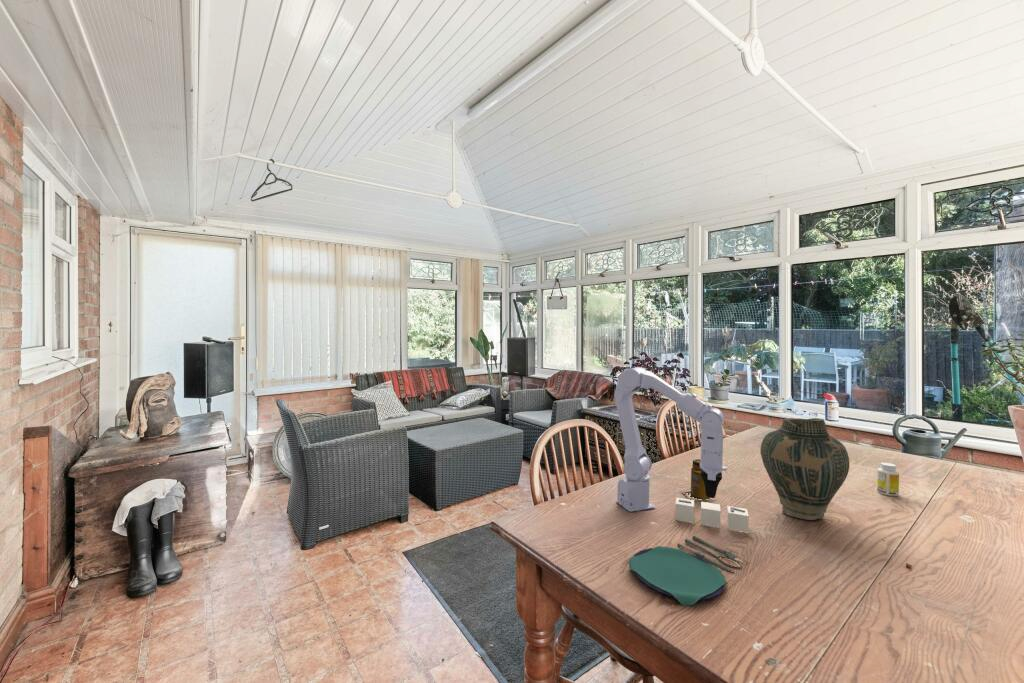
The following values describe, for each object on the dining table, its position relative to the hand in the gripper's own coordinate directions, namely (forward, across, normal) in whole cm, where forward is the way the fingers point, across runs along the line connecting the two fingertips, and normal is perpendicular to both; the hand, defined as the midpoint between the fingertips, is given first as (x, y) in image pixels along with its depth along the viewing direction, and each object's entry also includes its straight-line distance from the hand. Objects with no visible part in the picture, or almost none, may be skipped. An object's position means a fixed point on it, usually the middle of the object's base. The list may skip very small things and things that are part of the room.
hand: (710, 496), depth 120 cm
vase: (+8, +18, -26) cm, 32 cm away
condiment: (+8, +20, +3) cm, 22 cm away
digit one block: (+8, 0, +7) cm, 10 cm away
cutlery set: (+8, -28, +5) cm, 30 cm away
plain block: (+8, 0, 0) cm, 8 cm away
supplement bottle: (+8, +51, -56) cm, 76 cm away
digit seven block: (+8, 0, -7) cm, 10 cm away
